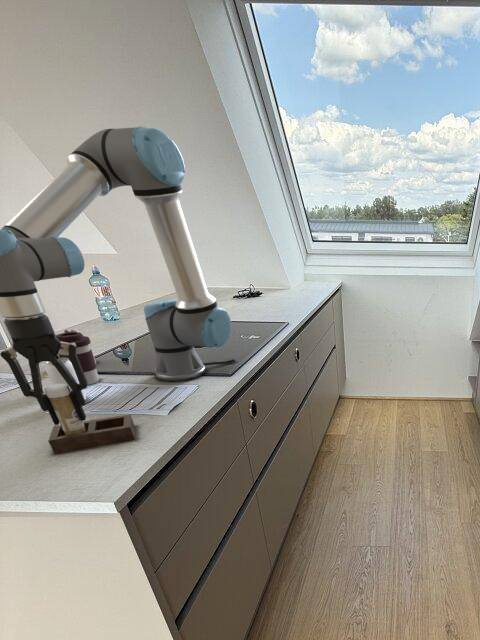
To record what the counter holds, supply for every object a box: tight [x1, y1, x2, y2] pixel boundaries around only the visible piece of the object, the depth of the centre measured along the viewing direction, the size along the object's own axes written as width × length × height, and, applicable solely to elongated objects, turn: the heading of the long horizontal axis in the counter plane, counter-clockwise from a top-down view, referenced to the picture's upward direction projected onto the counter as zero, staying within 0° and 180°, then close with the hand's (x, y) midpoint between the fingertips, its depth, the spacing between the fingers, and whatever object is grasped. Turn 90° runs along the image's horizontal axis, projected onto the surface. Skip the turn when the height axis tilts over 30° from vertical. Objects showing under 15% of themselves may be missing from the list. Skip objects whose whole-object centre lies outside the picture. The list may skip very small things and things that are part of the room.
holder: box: [48, 413, 136, 455], centre depth 109 cm, size 16×9×4 cm, turn 117°
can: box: [44, 358, 87, 401], centre depth 128 cm, size 6×6×12 cm
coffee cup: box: [55, 331, 100, 386], centre depth 141 cm, size 10×10×15 cm
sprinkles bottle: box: [43, 384, 87, 435], centre depth 105 cm, size 5×5×14 cm
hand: (70, 420), depth 106 cm, fingers closed on sprinkles bottle, 5 cm apart
